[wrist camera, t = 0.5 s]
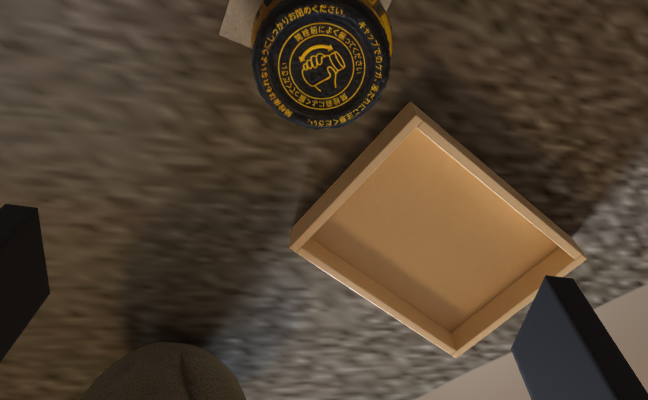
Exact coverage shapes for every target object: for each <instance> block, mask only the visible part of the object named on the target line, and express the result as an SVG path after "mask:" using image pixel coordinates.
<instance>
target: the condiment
mask: <svg viewBox="0 0 648 400" xmlns="http://www.w3.org/2000/svg"><path fill="white" fill-rule="evenodd" d="M391 1H392V0H229V3H228V7H227V10H226V14H225V16H224V20H223V23H222V26H221V30H220V33H219V35H220V36H223V37H225V38H227V39H230V40H232V41H234V42H237V43H240V44H242V45H245V46H247V47H249V48H251V49H252V67H253V73H254V76H255V80H256V83H257V88H258V91H259V93H260V95H261V96H262V97H263V98H264V99H265V101H266V102H267V103H268V104H269V105H270V106H271V107H272V108H273V109H274V110H275V111H276V113H277V114H278V115H279V116H281V117H283V118H284V119H286V120H288V121H290V122H293V123H295V124H297V125H299V126H303V127H306V128H310V129H314V130H317V129H323V128H340V127H343V126H346V125H348V124H350V123H352V122H354V121H355V120H357V119H358V118H359V117H361V116H362V115H364V114H365V113H366V112H367V111H368V110H369V109H370V108H371V107H372V106H373V105H374V104H376V102H377V101H378V100H379V98H380V96H381V94H382V91H383V90H384V89H385V87H386V83H387V80H388V78H389V70H390V60H391V56H392V51H393V39H392V28H391V25H390V22H389V17H388V15H387V9H388V7H389V5H390V3H391Z"/></svg>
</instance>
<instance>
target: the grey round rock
mask: <svg viewBox="0 0 648 400" xmlns="http://www.w3.org/2000/svg"><path fill="white" fill-rule="evenodd" d="M80 400H246V398H245V396H244V393H243V391H242V389H241V387H240V385H239V383H238V381H237V379H236V378H235V376H234V375H233V374H232V373H231V372H230V371H229V369H228V368H227V367H226V366H225V365H224V364H223V363H222V362H221V361H220V360H218V359H217V358H216V357H215V356H213V355H212V354H210V353H209V352H207V351H206V350H204V349H202V348H199V347H197V346H194V345H190V344H183V343H173V342H156V343H151V344H148V345H145V346H143V347H141V348H139V349H137V350H135V351H133V352H131V353H129V354H128V355H126V356H124V357H123V358H122V359H120V360H119V361H117V362H116V363H115V364H114V365H112V366H111V367H110V368H109V369H107V370H106V371H105V372H104V373H103V374H102V375H100V376H99V377H98V379H97V380H96V381H95V382H94V383H93V384H92V385H91V386H90V387H89V389H88V390H87V391H86V392H85V393H84V395H83V396H82V397H81V399H80Z"/></svg>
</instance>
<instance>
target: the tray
mask: <svg viewBox="0 0 648 400" xmlns="http://www.w3.org/2000/svg"><path fill="white" fill-rule="evenodd" d="M289 248H290V249H291V250H293V251H294V252H296V253H297V254H299V255H300V256H302V257H303V258H305V259H306V260H308V261H309V262H311V263H312V264H314V265H315V266H317V267H318V268H320V269H322V270H323V271H325V272H326V273H328V274H329V275H331V276H332V277H334V278H335V279H337V280H338V281H340V282H341V283H343V284H344V285H346V286H347V287H349V288H350V289H352V290H353V291H355V292H356V293H358V294H359V295H361V296H362V297H364V298H365V299H367V300H368V301H370V302H372V303H373V304H375V305H376V306H378V307H379V308H381V309H382V310H384V311H385V312H387V313H388V314H390V315H391V316H393V317H394V318H396V319H397V320H399V321H400V322H402V323H403V324H405V325H406V326H408V327H409V328H411V329H412V330H414V331H415V332H417V333H419V334H420V335H422V336H423V337H425V338H426V339H428V340H429V341H431V342H432V343H434V344H435V345H437V346H438V347H440V348H441V349H443V350H444V351H446V352H447V353H449V354H450V355H452V356H453V357H455V358H458V357H459V356H460V355H461V354H463V353H464V352H465V351H467V350H468V349H469V348H471V347H472V346H473V345H475V344H476V343H477V342H479V341H480V340H481V339H482V338H484V337H485V336H486V335H488V334H489V333H490V332H492V331H493V330H494V329H496V328H497V327H498V326H500V325H501V324H502V323H503V322H505V321H506V320H507V319H509V318H510V317H511V316H513V315H514V314H515V313H517V312H518V311H519V310H521V309H522V308H523V307H524V306H526V305H527V304H528V303H530V302H531V301H532V300H534V299H535V296H536V294H537V292H538V290H539V288H540V286H541V284H542V281H543V279H544V277H545V275H549V276H556V277H564V276H565V275H567V274H568V273H569V272H570V271H572V270H573V269H574V268H576V267H577V266H578V265H580V264H581V263H582V262H584V261H585V260H586V259H587V257H586V256H585V255H584V253H583V252H582V251H581V249H580V248H579V247H578V245H577V244H576V243H575V242H574V240H573V239H572V238H571V237H570V236H569V235H568V234H566V233H565V232H564V231H563V230H562V229H561V228H559V227H558V226H557V225H556V224H555V223H553V222H552V221H551V220H550V219H549V218H548V217H546V216H545V215H544V214H543V213H542V212H541V211H539V210H538V209H537V208H536V207H535V206H533V205H532V204H531V203H530V202H529V201H528V200H526V199H525V198H524V197H523V196H522V195H520V194H519V193H518V192H517V191H516V190H515V189H513V188H512V187H511V186H510V185H509V184H508V183H506V182H505V181H504V180H503V179H502V178H500V177H499V176H498V175H497V174H496V173H495V172H493V171H492V170H491V169H490V168H489V167H487V166H486V165H485V164H484V163H483V162H482V161H480V160H479V159H478V158H477V157H476V156H475V155H473V154H472V153H471V152H470V151H469V150H467V149H466V148H465V147H464V146H463V145H462V144H460V143H459V142H458V141H457V140H456V139H454V138H453V137H452V136H451V135H450V134H449V133H447V132H446V131H445V130H444V129H443V128H442V127H440V126H439V125H438V124H437V123H436V122H434V121H433V120H432V119H431V118H430V117H429V116H427V115H426V114H425V113H424V112H423V111H421V110H420V109H419V108H418V107H417V106H416V105H414V104H413V103H412V102H411V101H410V102H409V103H408V104H407V105H406V106H405V107H404V108H403V109H402V110H401V111H400V112H399V113H398V115H397V116H396V117H395V118H394V119H393V120H392V121H391V122H390V123H389V124H388V125H387V126H386V127H385V128H384V130H383V131H382V132H381V133H380V134H379V135H378V136H377V137H376V138H375V139H374V140H373V141H372V142H371V143H370V145H369V146H368V147H367V148H366V149H365V150H364V151H363V152H362V153H361V154H360V155H359V156H358V157H357V159H356V160H355V161H354V162H353V163H352V164H351V165H350V166H349V167H348V168H347V169H346V170H345V171H344V172H343V174H342V175H341V176H340V177H339V178H338V179H337V180H336V181H335V182H334V183H333V184H332V185H331V186H330V187H329V189H328V190H327V191H326V192H325V193H324V194H323V195H322V196H321V197H320V198H319V199H318V200H317V201H316V203H315V204H314V205H313V206H312V207H311V208H310V209H309V210H308V211H307V212H306V213H305V214H304V215H303V216H302V218H301V219H300V220H299V221H298V222H297V223H296V224H295V225H294V226H293V227H292V228H291V237H290V246H289Z"/></svg>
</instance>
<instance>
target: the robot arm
mask: <svg viewBox="0 0 648 400" xmlns="http://www.w3.org/2000/svg"><path fill="white" fill-rule="evenodd" d="M49 294H50V289H49V283H48V276H47V269H46V262H45V256H44V249H43V242H42V235H41V229H40V222H39V215H38V208H33V207H26V206H18V205H11V204H5V205H4V206H3V207H2V208H1V209H0V362H1V361H2V359H3V358H4V356H5V355H6V354H7V352H8V351H9V350H10V348H11V347H12V345H13V344H14V343H15V341H16V340H17V338H18V337H19V336H20V334H21V333H22V331H23V330H24V329H25V327H26V326H27V325H28V323H29V322H30V320H31V319H32V318H33V316H34V315H35V313H36V312H37V311H38V309H39V308H40V306H41V305H42V304H43V302H44V301H45V299H46V298H47V297H48V295H49ZM511 351H512V353H513V355H514V358H515V360H516V363H517V365H518V368H519V370H520V373H521V375H522V378H523V380H524V382H525V385H526V387H527V390H528V392H529V395H530V397H531V400H648V393H647V392H646V390H645V389H644V387H643V386H642V384H641V382H640V381H639V379H638V378H637V376H636V375H635V373H634V372H633V370H632V369H631V367H630V366H629V364H628V362H627V361H626V359H625V358H624V356H623V355H622V353H621V352H620V350H619V349H618V347H617V345H616V344H615V343H614V341H613V339H612V338H611V336H610V335H609V333H608V332H607V330H606V329H605V327H604V326H603V324H602V322H601V321H600V319H599V318H598V316H597V315H596V313H595V312H594V310H593V309H592V307H591V305H590V304H589V302H588V301H587V299H586V298H585V296H584V295H583V293H582V292H581V290H580V289H579V287H578V285H577V284H576V282H575V281H574V279H572V278H564V277H556V276H549V275H545V277H544V279H543V281H542V284H541V286H540V288H539V290H538V292H537V294H536V296H535V299H534V301H533V303H532V305H531V307H530V309H529V311H528V313H527V316H526V318H525V320H524V322H523V324H522V326H521V328H520V331H519V333H518V335H517V337H516V339H515V341H514V343H513V346H512V348H511Z"/></svg>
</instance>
